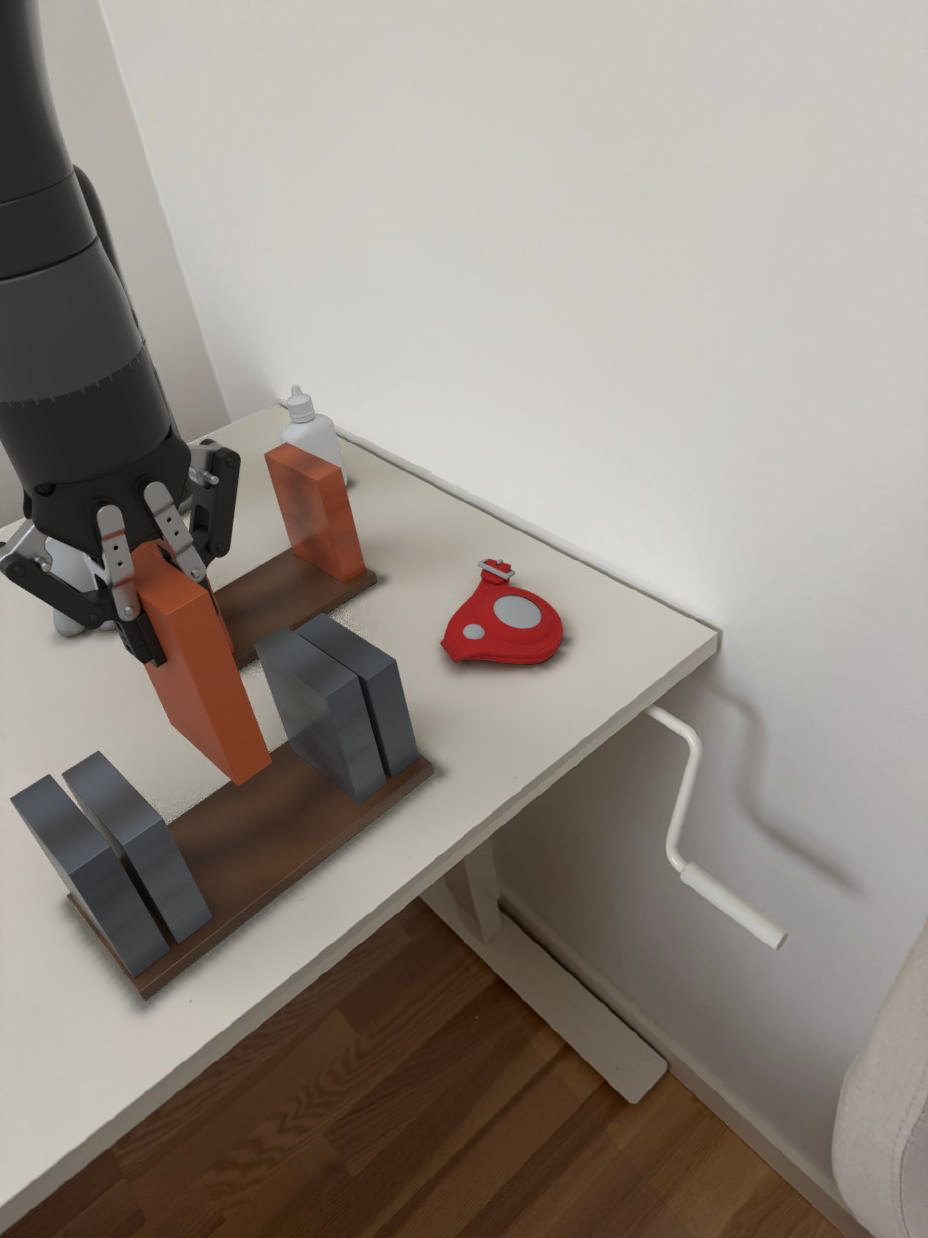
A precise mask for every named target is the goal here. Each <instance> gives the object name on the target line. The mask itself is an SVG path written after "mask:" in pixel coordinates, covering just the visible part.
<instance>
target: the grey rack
mask: <svg viewBox="0 0 928 1238" xmlns="http://www.w3.org/2000/svg"><path fill="white" fill-rule="evenodd" d="M254 646H255V649H256V651H257V654H258V660H259V662H260V665H261V668H262V671H263V674H264V676H265V679H266V682H267V685H268V688H269V690H270V694H271V697H272V699H273V703H274V705H275V708H276V710H277V713H278V715H279V719H280V722H281V725H282V727H283V730H284V733H285V735H286V738H287V741H285V742H284V743H282V744H280V745H279V746H278V747H277V748H275V749H274V750H272V751H271V752H269V754H270V757H271V759H272V763H271V764H269V765H268V766H267V767H265V768H264V769H262V770H261V771H260V772H258V773H257V774H255V775H254V776H252V777H251V778H250V779H248V780H247V781H245V782H244V783H243V784H241V785H240V786H237V785H236V784H235V783H234V782H233V781H232V780H231V779H230V780H229V781H228V782H226V783H225V784H223V785H222V786H221V787H219V788H217V789H216V790H215V791H213V792H212V793H210V794H209V795H208V796H206V797H205V798H204V799H202V800H201V801H199V802H198V803H196V804H195V805H193V806H192V807H191V808H189V809H187V810H186V811H185V812H183V813H182V814H180V815H179V816H178V817H176V818H175V819H174V820H172V821H170V822H169V823H168V824H167V823H166V821H165V820H164V817H163V816H162V815H161V814H160V813H159V812H158V811H157V809H155V808H154V807H153V806H152V804H150V803H149V801H148V800H147V799H146V798H145V797H144V796H143V794H141V793H140V792H139V791H138V789H136V787H134V786H133V784H132V783H131V782H130V781H129V780H128V779H127V778H126V777H125V776H124V775H123V774H122V772H121V771H119V770H118V769H117V767H116V766H114V764H113V763H112V762H111V761H110V760H109V759H108V758H107V757H106V756H105V754H103V752H101V750H96V751H95V752H93V753H92V754H90V755H88V756H87V757H86V758H84V759H82V760H80V761H78V762H77V763H76V764H74V765H72V766H71V767H69V768H68V769H66V770H65V771H63V772H61V777H62V779H63V780H64V782H65V784H66V786H67V787H68V789H69V790H70V792H71V794H72V796H73V797H74V799H75V801H76V802H77V804H78V805H77V804H76V803H75V802H74V801H73V799H72V798H71V796H69V795H68V793H67V792H66V791H65V789H63V788H62V786H61V785H60V784H59V783H58V782H57V780H55V778H54V777H53V776H52V774H51V773H48V774H46V775H45V776H42V777H41V778H39V779H38V780H37V781H35V782H33V783H32V784H30V785H28V786H27V787H25V788H24V789H22V790H21V791H18V792H17V793H16V794H14V795H13V796H11V797H9V801H10V802H11V805H12V806H13V808H14V809H15V810H16V812H17V814H18V815H19V816H20V818H21V819H22V821H23V822H24V824H25V825H26V827H27V829H28V830H29V832H30V834H31V835H32V837H33V838H34V840H35V841H36V842H37V844H38V846H39V847H40V849H41V850H42V852H43V853H44V855H45V856H46V858H47V860H48V862H49V863H50V864H51V865H52V867H53V869H54V870H55V872H56V873H57V875H58V876H59V878H60V879H61V881H62V882H63V884H64V885H65V887H66V889H67V890H68V892H69V893H68V894H67V895H66V898H67V899H68V901H69V903H70V904H71V906H72V907H73V908H74V910H75V911H76V912H77V914H78V915H79V917H81V919H82V920H83V922H84V923H85V924H86V926H87V927H88V928H89V929H90V931H91V932H92V933H93V936H94V937H96V939H97V940H98V942H99V943H100V944H101V946H102V947H103V949H104V950H105V952H107V954H108V955H109V956H110V957H111V959H112V960H113V962H114V964H116V967H118V968H119V969H120V971H121V973H122V974H123V975H124V977H125V978H126V980H128V982H129V983H130V985H131V986H132V987H133V988H134V990H135V991H136V992H137V994H138V995H139V996H140V998H141V999H142V1000H143V1002H145V1001H147V1000H148V999H149V998H151V997H152V996H153V995H155V994H156V993H157V992H158V991H160V990H161V989H162V988H164V986H166V985H167V984H169V983H170V982H171V981H173V979H175V978H176V977H178V976H179V975H180V974H181V973H183V971H185V970H187V968H189V967H190V966H191V965H193V964H194V963H195V962H196V961H197V960H199V959H200V958H202V956H204V955H205V954H207V953H208V952H209V951H210V950H212V949H213V948H214V947H216V945H218V944H219V943H220V942H222V941H223V940H224V939H225V938H227V937H228V936H229V935H230V934H232V933H233V932H234V931H236V930H237V929H238V928H239V927H241V926H242V925H243V924H244V923H246V922H247V921H248V920H249V919H251V918H252V917H253V916H254V915H256V914H257V913H258V912H260V911H261V910H262V909H263V908H264V907H266V906H268V904H269V903H271V902H272V901H273V900H275V899H276V898H277V897H278V896H280V895H281V894H283V892H285V891H286V890H288V889H289V888H290V887H291V886H293V884H295V883H296V882H297V881H299V880H300V879H301V878H302V877H304V876H305V875H306V874H308V873H309V872H310V871H312V870H313V869H314V868H315V867H316V866H317V865H319V864H320V863H321V862H323V861H324V860H325V859H326V858H328V857H329V856H330V855H331V854H333V853H335V852H336V850H338V849H339V848H340V847H342V846H343V845H344V844H346V843H347V842H348V841H349V840H350V839H352V838H353V837H355V836H356V835H357V834H358V833H359V832H360V831H362V830H364V828H366V827H367V826H368V825H370V824H371V823H372V822H373V821H375V820H376V819H377V818H379V817H380V816H381V815H382V814H383V813H385V812H386V811H387V810H388V809H390V808H391V807H392V806H394V805H395V804H396V803H397V802H398V801H400V800H401V799H403V798H404V797H405V796H406V795H408V794H409V793H410V792H411V791H412V790H414V789H416V787H418V786H419V785H420V784H421V783H423V782H424V781H425V780H426V779H427V778H429V777H430V776H431V775H433V774H434V767H433V763H432V762H431V761H429V760H428V759H427V758H426V757H424V756H423V755H421V753H419V750H418V746H417V741H416V737H415V733H414V729H413V725H412V721H411V716H410V712H409V708H408V703H407V699H406V695H405V690H404V686H403V683H402V679H401V674H400V670H399V666H398V662H397V659H396V658H394V657H393V656H391V655H390V654H388V653H387V652H385V651H384V650H382V649H380V647H377V646H375V645H374V644H372V643H371V642H369V641H368V640H366V639H365V638H363V637H362V636H360V635H358V634H357V633H356V632H354V631H353V630H351V629H349V628H347V627H346V626H345V625H343V624H342V623H340V622H338V621H337V620H336V619H334V618H332V617H330V616H329V615H327V614H324V613H321V614H320V615H318V616H316V617H315V618H313V619H312V620H310V621H309V622H307V623H305V624H304V625H302V626H301V627H299V628H298V629H296V630H295V631H294V632H293V631H292V630H290V629H289V628H287V627H286V626H283V627H281V628H280V629H278V630H277V631H275V632H273V633H272V634H270V635H269V636H267V637H265V638H264V639H262V640H261V641H259V642H258V643H256V644H254Z"/></svg>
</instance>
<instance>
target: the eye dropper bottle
mask: <svg viewBox="0 0 928 1238" xmlns="http://www.w3.org/2000/svg"><path fill="white" fill-rule="evenodd" d="M290 387H291V388H290V389H291V396H289V397H288V398H287V399H286V406H287V410H288V414H289V417H290V422H289V423H288V424H287V426H285V428H284V429H283V431H282V432H281V434H280V437H279V440H280V441H279V442H280V445H282V444H284V443H286V442H287V443H289V444H292V445H294V446H296V447H298V448H300V449H302V450H304V451H306V452H309V453H311V454H313V455H315V456H317V457H319V458H321V459H324V460H326V461H328V462H330V463H332V464H334V465H336V466H338V467H341V470H342V474H343V478H344V482H345V486H346V487H347V485H348V476H347V471H346V468H345V467H346V466H345V462H344V460H343V456H342V455H343V454H342V451H341V446H340V443H339V438H338V435H337V432H336V427H335V424H334V421H333V419H332V418H331V417H329V416H328V415H325V414H323V413H317V412H315V407H314V404H313V400H312V396H311V395H310V394H308V393H305V392H303V391H302V389H301V387H300V385H299V384H298V383H294V384H292V385H291V386H290Z"/></svg>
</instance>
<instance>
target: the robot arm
mask: <svg viewBox="0 0 928 1238" xmlns="http://www.w3.org/2000/svg"><path fill="white" fill-rule="evenodd" d="M40 13H41V12H40V5H39V0H0V443H1V445H2V447H3V448H4V452H5V453H6V455H7V458H8V459H9V462H10V463H11V465H12V467H13V469H14V472H15V473H16V475H17V478H18V480H19V482H20V484H21V487H22V492H23V500H22V513H23V515H24V518H25V520H24V521H23V523H22V524H21V525H20V526H19V528H18V529H17V530H16V531H15V532H14V533H13V534H12V535H11V537H10V538H9V539H8V540H7V541H0V573H1V574H2V575H4V576H5V578H6V579H8V580H9V581H10V582H11V583H13V584H15V585H16V586H18V587H19V588H21V589H23V590H24V591H25V592H27V593H29V594H31V595H33V596H34V597H36V598H37V599H39V600H41V601H42V602H44V603H45V604H47V605H48V606H50V607H51V608H52V609H53V608H55V609H56V610H58V611H60V612H61V613H63V614H65V615H66V616H68V617H69V618H71V619H73V620H74V621H76V622H77V623H79V624H81V625H82V626H84V627H85V629H87V630H90V631H91V630H97V629H99V627H101V626H102V625H103V623H104V622H106V621H113V623H114V625H115V627H114V628H115V629H116V631H117V633H118V636H119V637H120V640H121V642H122V644H123V647H124V648H125V650H126V651H127V652H128V653H130V654H131V655H132V656H133V657H134V658H135V659H136V660H137V661H139V663H141V664H143V666H144V665H145V664H146V663H148V662H150V663H151V664H152V665H153V666H154V667H155V668H158V667H160V666H161V665H163V664H165V663H166V662H168V661H167V658H166V655H165V653H164V651H163V648H162V646H161V644H160V642H159V639H158V637H157V635H156V632H155V630H154V628H153V626H152V623H151V621H150V619H149V616H148V614H147V612H145V611H144V610H143V609H142V608H141V607H140V603H139V599H138V596H137V592H136V588H135V584H134V578H135V577H136V575H135V571H134V567H133V563H132V559H131V555H130V554H131V553H132V552H133V551H134V550H135V549H136V548H137V547H139V546H140V545H141V544H142V543H145V542H149V541H152V542H153V544H154V545H155V547H156V549H157V551H158V552H159V554H160V556H161V557H162V558H163V559H164V560H165V561H167V562H168V563H170V564H171V565H172V566H174V567H175V568H177V569H178V570H179V571H181V572H182V573H184V574H185V575H186V576H188V577H189V578H191V579H192V580H193V581H195V582H196V583H198V584H199V585H200V586H202V587H203V588H205V589H206V590H207V591H208V592H209V595H210V598H211V600H212V603H213V606H214V608H215V611H216V613H217V616H218V615H219V611H218V608H217V606H216V604H215V600H214V598H213V595H212V592H211V590H210V587H209V584H208V582H207V579H206V574H207V569H208V567H209V566H210V564H211V563H212V562H213V561H214V560H215V559H216V558H217V559H220V558H224V557H225V556H227V555H228V554H229V552H230V550H231V547H232V538H233V531H234V530H233V528H234V520H235V513H236V504H237V497H238V488H239V480H240V474H241V473H240V472H241V463H242V458H241V456H240V453H238V452H237V451H235V450H234V449H231V448H229V447H228V446H225V445H224V444H222V443H220V442H218V441H216V440H214V439H212V438H204V439H202V440H201V441H200V443H198V444H188V443H187V442H186V441H185V440H184V439H182V436H181V434H180V431H179V427H178V425H177V422H176V419H175V417H174V413H173V411H172V409H171V405H170V403H169V400H168V397H167V394H166V391H165V388H164V386H163V382H162V380H161V378H160V374H159V371H158V369H157V367H156V364H155V361H154V358H153V356H152V352H151V350H150V347H149V344H148V342H147V339H146V336H145V333H144V330H143V327H142V325H141V321H140V319H139V316H138V313H137V310H136V306H135V305H134V302H133V299H132V295H131V293H130V290H129V287H128V284H127V281H126V278H125V274H124V272H123V269H122V266H121V262H120V259H119V255H118V252H117V248H116V245H115V241H114V238H113V234H112V231H111V227H110V224H109V221H108V218H107V215H106V212H105V209H104V207H103V204H102V200H101V199H100V196H99V194H98V192H97V190H96V188H95V186H94V184H93V182H92V180H91V179H90V178H89V176H88V175H87V174H86V172H85V171H84V170H83V169H81V167H79V166H78V165H76V164H74V163H72V159H71V157H70V156H71V155H70V153H69V150H68V148H67V145H66V141H65V138H64V135H63V132H62V128H61V126H60V122H59V117H58V114H57V110H56V106H55V101H54V96H53V92H52V88H51V81H50V77H49V71H48V66H47V59H46V54H45V48H44V40H43V32H42V23H41V14H40ZM189 509H190V515H189V524H188V525H189V526H188V527H187V525H186V524H185V522H184V520H183V518H182V516H181V514H183V513H184V512H186V511H187V510H189ZM48 537H49V538H50V539H52V538H53V539H55V540H57V541H59V542H61V543H64V544H66V545H68V546H70V547H72V548H75V549H77V550H79V551H81V552H82V556H83V559H84V561H85V564H86V565H87V567H88V568H89V570H90V572H91V575H92V579H93V582H94V585H95V589H96V590H92V591H87V592H81V591H79V590H78V589H76V588H75V587H73V586H72V585H70V584H69V583H67V582H66V581H64V580H63V579H61V578H60V577H58V576H57V575H55V574H54V573H52V572H51V571H50V570H51V568H52V564H53V558H52V556H51V555H50V554H49V553H48V552H47V550H46V548H45V544H46V543H47V539H48Z"/></svg>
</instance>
